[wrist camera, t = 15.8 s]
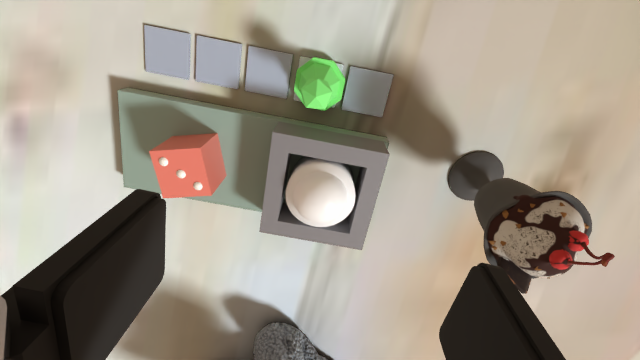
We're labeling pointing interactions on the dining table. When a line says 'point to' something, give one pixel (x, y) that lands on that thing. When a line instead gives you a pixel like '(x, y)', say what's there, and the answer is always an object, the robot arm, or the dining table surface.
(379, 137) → the board
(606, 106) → the dining table surface
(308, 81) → the game piece
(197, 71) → the track
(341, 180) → the dome
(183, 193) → the die
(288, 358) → the koala plush
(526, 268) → the sundae
